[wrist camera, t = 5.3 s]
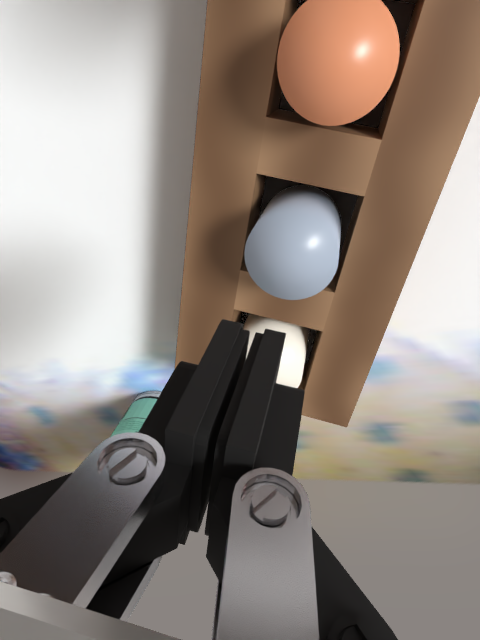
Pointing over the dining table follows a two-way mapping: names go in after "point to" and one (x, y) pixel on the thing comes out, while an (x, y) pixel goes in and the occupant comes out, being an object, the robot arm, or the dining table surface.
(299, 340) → the cream cylinder
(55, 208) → the dining table surface
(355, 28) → the rust egg
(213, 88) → the wooden egg holder
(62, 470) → the dining table surface
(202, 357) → the robot arm
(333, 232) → the blue-grey egg
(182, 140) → the dining table surface
